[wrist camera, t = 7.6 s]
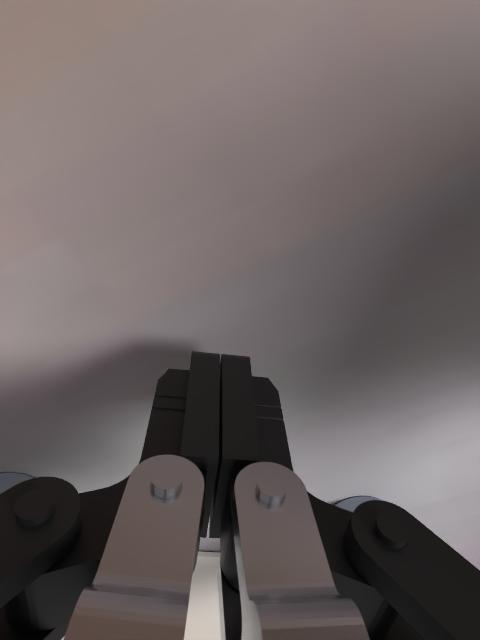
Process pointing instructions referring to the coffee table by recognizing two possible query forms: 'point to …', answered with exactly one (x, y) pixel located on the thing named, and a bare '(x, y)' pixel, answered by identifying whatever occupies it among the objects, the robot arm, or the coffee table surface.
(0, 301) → the coffee table surface
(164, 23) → the coffee table surface
